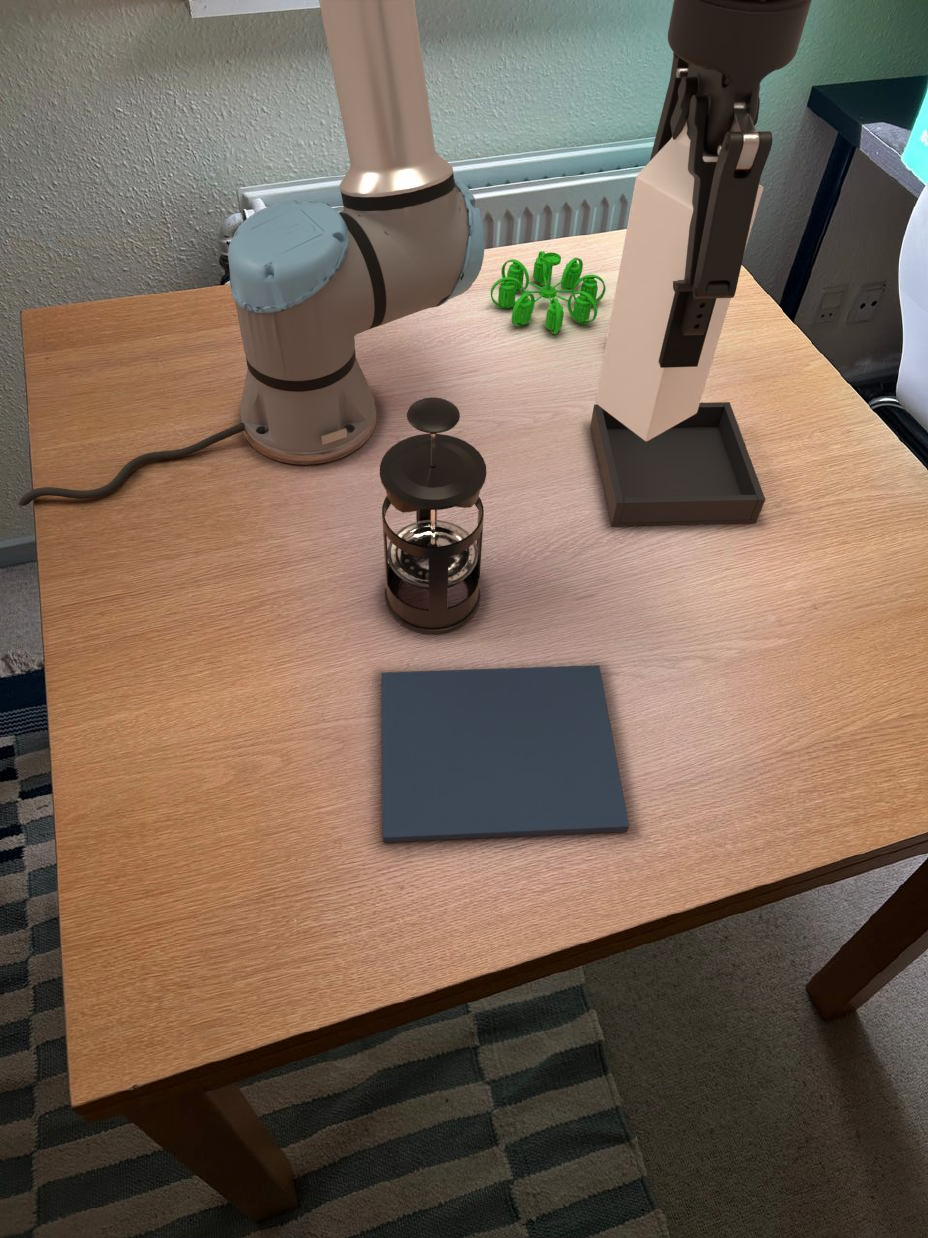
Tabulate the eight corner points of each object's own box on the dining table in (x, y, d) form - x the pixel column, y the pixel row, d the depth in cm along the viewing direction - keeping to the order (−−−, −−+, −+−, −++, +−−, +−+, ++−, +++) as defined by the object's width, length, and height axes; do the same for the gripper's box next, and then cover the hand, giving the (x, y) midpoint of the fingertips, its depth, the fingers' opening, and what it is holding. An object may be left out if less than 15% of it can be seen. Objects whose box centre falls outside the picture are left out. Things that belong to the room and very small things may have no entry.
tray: (611, 526, 96) (616, 503, 94) (589, 428, 106) (594, 403, 103) (756, 523, 97) (765, 499, 94) (722, 425, 107) (729, 401, 104)
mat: (383, 843, 74) (382, 837, 73) (381, 678, 84) (381, 672, 83) (627, 831, 75) (629, 826, 74) (597, 671, 85) (599, 664, 84)
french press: (488, 635, 87) (503, 453, 69) (389, 644, 86) (378, 461, 68) (471, 544, 94) (480, 357, 76) (379, 551, 93) (367, 363, 75)
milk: (646, 443, 72) (714, 165, 55) (593, 403, 75) (642, 125, 58) (698, 413, 75) (780, 137, 57) (645, 375, 78) (708, 100, 60)
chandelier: (613, 338, 116) (622, 289, 111) (496, 342, 115) (500, 293, 110) (592, 272, 125) (599, 224, 120) (483, 275, 124) (486, 226, 119)
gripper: (881, 52, 45) (751, 417, 63) (760, -87, 57) (681, 249, 75) (731, 52, 44) (644, 421, 62) (642, -88, 57) (591, 251, 75)
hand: (664, 326), depth 69 cm, fingers closed on milk, 8 cm apart
